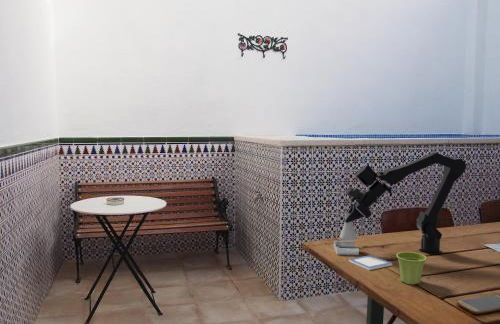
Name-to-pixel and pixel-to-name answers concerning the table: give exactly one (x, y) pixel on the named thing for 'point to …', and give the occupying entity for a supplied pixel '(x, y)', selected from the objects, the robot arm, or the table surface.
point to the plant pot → (411, 266)
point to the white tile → (370, 262)
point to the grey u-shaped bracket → (346, 248)
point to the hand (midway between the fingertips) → (345, 221)
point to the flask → (348, 230)
